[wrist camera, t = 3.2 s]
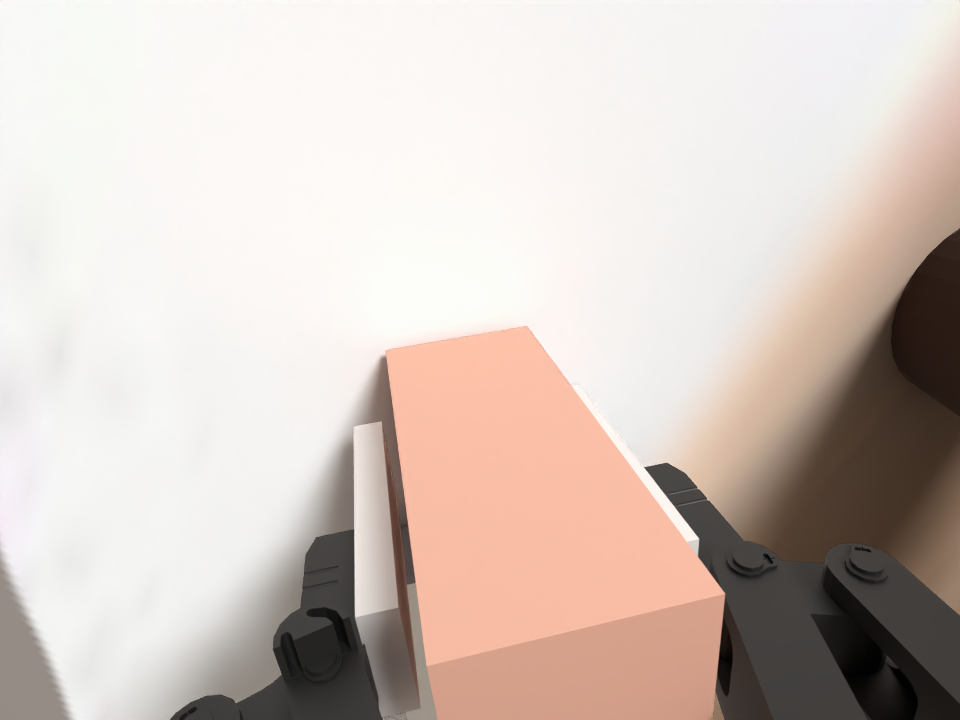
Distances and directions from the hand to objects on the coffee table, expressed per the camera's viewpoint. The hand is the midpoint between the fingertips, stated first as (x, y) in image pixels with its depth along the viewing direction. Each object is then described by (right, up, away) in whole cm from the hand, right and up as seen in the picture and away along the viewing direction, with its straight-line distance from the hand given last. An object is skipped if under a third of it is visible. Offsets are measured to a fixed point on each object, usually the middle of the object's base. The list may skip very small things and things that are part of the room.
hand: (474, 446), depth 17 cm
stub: (0, 0, +1) cm, 1 cm away
